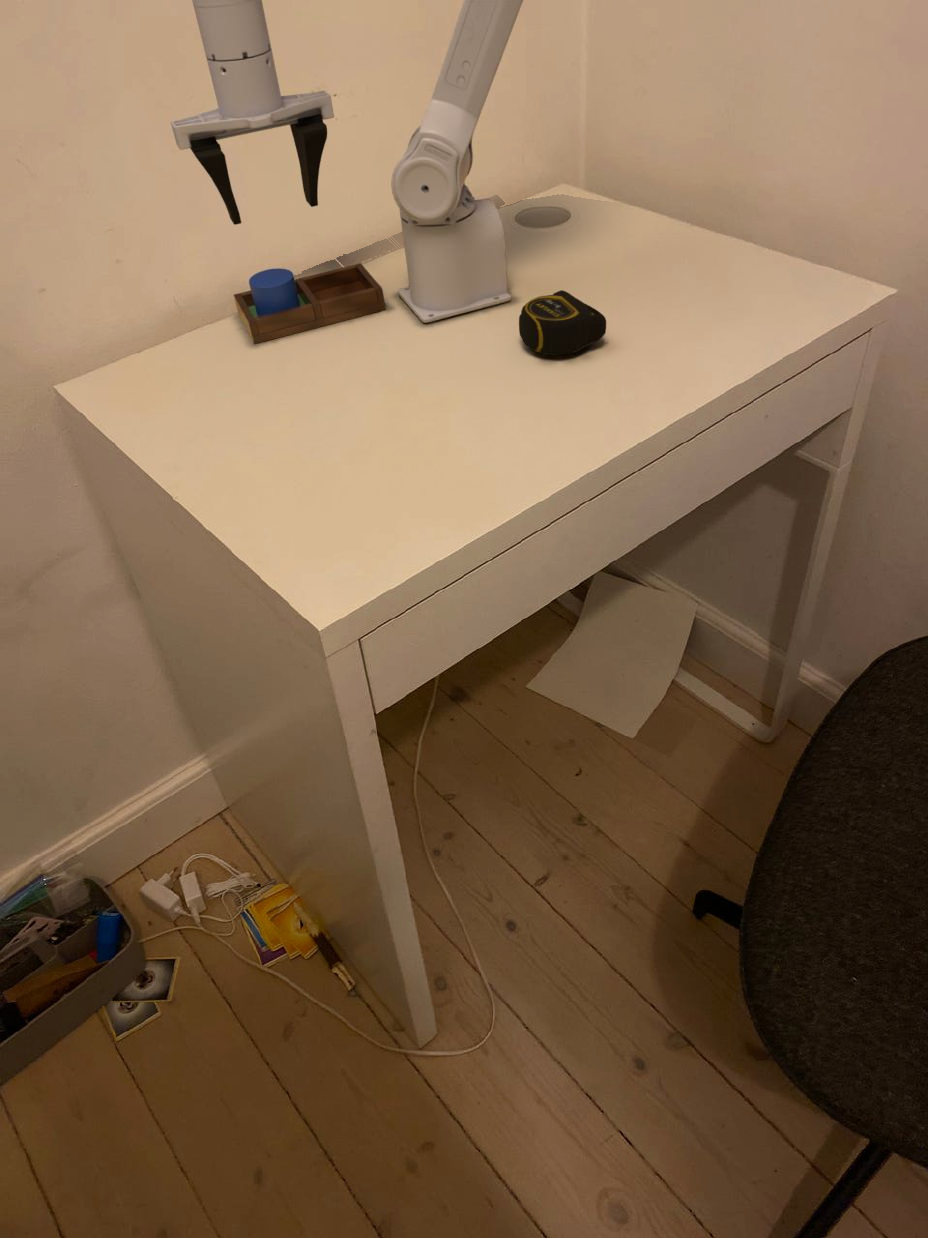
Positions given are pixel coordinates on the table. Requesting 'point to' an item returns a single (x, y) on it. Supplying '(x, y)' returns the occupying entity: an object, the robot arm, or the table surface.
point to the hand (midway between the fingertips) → (274, 211)
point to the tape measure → (560, 324)
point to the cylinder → (273, 291)
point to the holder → (316, 303)
